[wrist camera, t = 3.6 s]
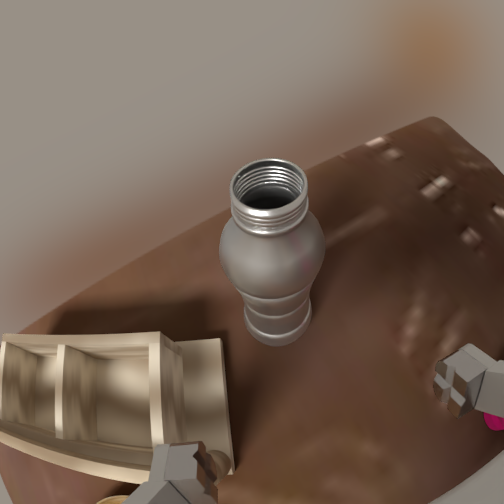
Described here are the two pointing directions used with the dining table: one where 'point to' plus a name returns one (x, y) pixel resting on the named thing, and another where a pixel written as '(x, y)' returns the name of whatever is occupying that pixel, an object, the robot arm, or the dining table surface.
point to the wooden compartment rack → (113, 400)
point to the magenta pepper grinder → (494, 421)
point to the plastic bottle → (272, 249)
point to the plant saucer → (113, 499)
